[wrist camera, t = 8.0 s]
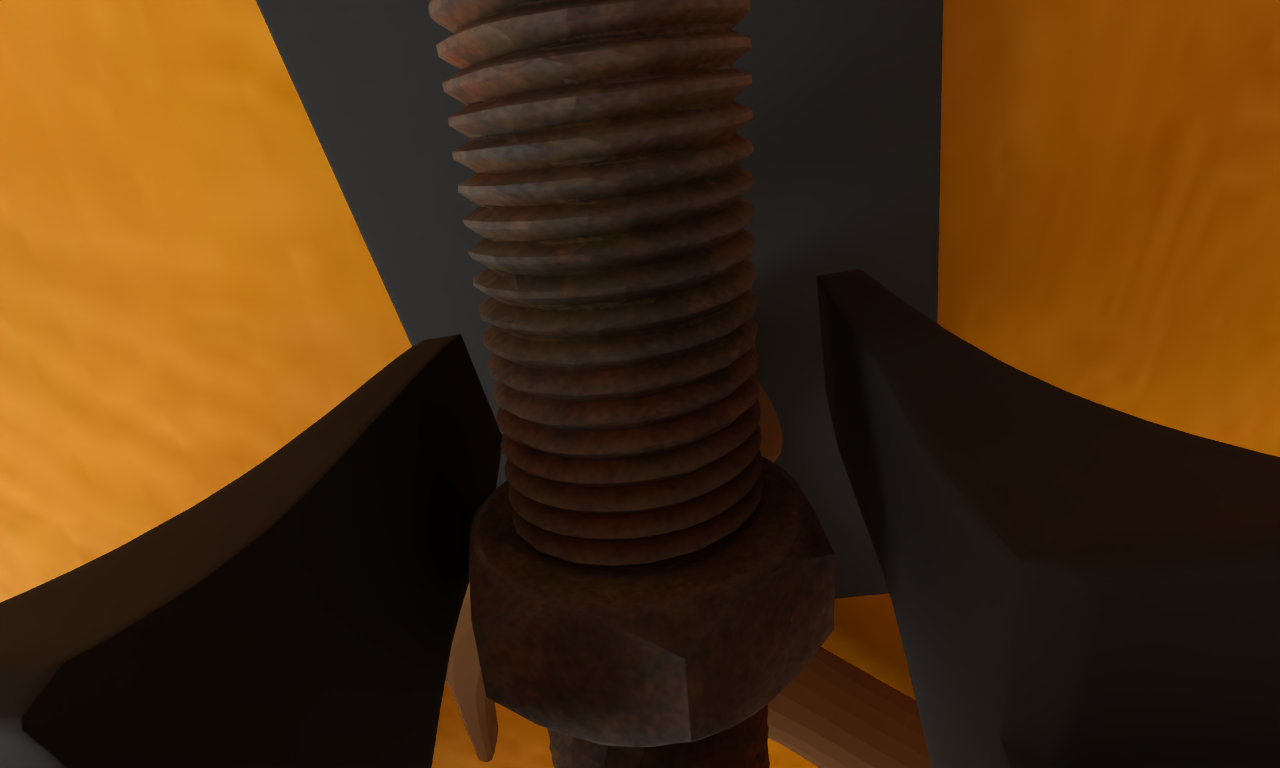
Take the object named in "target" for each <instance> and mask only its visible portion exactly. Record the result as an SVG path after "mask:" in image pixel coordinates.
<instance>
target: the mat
mask: <svg viewBox="0 0 1280 768" xmlns="http://www.w3.org/2000/svg"><path fill="white" fill-rule="evenodd" d="M256 2H257V4H258V6H259V8H260V11H261V13H262V15H263V17H264V19H265V22H266V24H267V26H268V28H269V30H270V33H271V35H272V37H273V39H274V42H275V44H276V46H277V48H278V50H279V53H280V55H281V57H282V59H283V61H284V64H285V66H286V68H287V70H288V73H289V75H290V77H291V79H292V81H293V84H294V86H295V88H296V90H297V92H298V95H299V97H300V99H301V101H302V104H303V106H304V108H305V110H306V112H307V115H308V117H309V119H310V121H311V123H312V126H313V128H314V130H315V132H316V135H317V137H318V139H319V141H320V143H321V146H322V148H323V150H324V152H325V155H326V157H327V159H328V161H329V163H330V166H331V168H332V170H333V172H334V174H335V177H336V179H337V181H338V183H339V186H340V188H341V190H342V192H343V194H344V197H345V199H346V201H347V203H348V205H349V208H350V210H351V212H352V214H353V217H354V219H355V221H356V223H357V225H358V228H359V230H360V232H361V234H362V236H363V239H364V241H365V243H366V245H367V248H368V250H369V252H370V254H371V256H372V259H373V261H374V263H375V265H376V267H377V270H378V272H379V274H380V276H381V279H382V281H383V283H384V285H385V287H386V290H387V292H388V294H389V296H390V298H391V301H392V303H393V305H394V307H395V310H396V312H397V314H398V316H399V318H400V321H401V323H402V325H403V327H404V329H405V332H406V334H407V336H408V338H409V341H410V343H411V345H412V347H413V346H415V345H416V344H418V343H420V342H421V341H423V340H427V339H433V338H439V337H445V336H451V335H457V334H461V335H462V338H463V340H464V343H465V345H466V348H467V350H468V353H469V355H470V358H471V360H472V363H473V365H474V368H475V370H476V372H477V375H478V377H479V380H480V382H481V385H482V387H483V390H484V392H485V395H486V397H487V400H488V402H489V405H490V407H491V410H492V412H493V415H494V417H495V420H496V417H497V413H498V410H499V409H500V408H501V407H500V406H498V405H497V404H496V401H495V399H494V397H493V395H492V393H491V392H492V389H493V385H494V384H495V383H496V382H497V380H496V379H494V378H492V377H491V374H490V371H489V368H488V365H487V363H488V361H489V359H490V356H491V354H493V353H492V352H491V351H490V350H489V349H488V348H487V347H486V346H485V345H484V344H483V333H484V332H485V331H486V330H487V329H488V328H489V327H490V326H491V325H492V324H490V323H488V322H485V321H483V320H482V318H481V316H480V313H479V308H478V305H479V304H481V303H482V302H483V301H484V300H486V299H487V298H488V297H489V296H490V295H488V294H486V293H484V292H483V291H481V290H479V289H478V288H476V287H474V286H473V278H474V277H475V276H476V275H478V274H479V273H481V272H482V271H483V270H485V269H486V268H488V267H486V266H485V265H483V264H482V263H480V262H478V261H476V260H474V259H472V258H471V256H470V255H469V253H468V250H469V249H470V248H472V247H473V246H474V245H476V244H477V243H478V242H479V241H481V240H482V239H483V238H484V237H482V236H481V235H479V234H478V233H476V232H475V231H473V230H471V229H470V228H468V227H467V226H466V225H464V222H463V220H462V219H463V218H464V217H466V216H467V215H468V214H470V213H471V212H472V211H473V210H475V209H476V208H477V207H479V205H477V204H476V203H474V202H472V201H471V200H469V199H468V198H466V197H464V196H463V195H461V194H460V193H458V185H459V184H460V183H462V182H463V181H465V180H466V179H468V178H469V177H471V176H472V175H474V174H475V171H474V170H472V169H471V168H469V167H467V166H465V165H463V164H461V163H459V162H457V161H456V160H454V159H453V155H452V151H454V150H456V149H457V148H459V147H460V146H462V145H464V144H465V143H467V142H469V141H470V137H468V136H466V135H464V134H463V133H461V132H459V131H457V130H456V129H454V128H452V127H450V126H449V122H448V117H450V116H452V115H454V114H455V113H457V112H459V111H460V110H462V109H464V108H466V106H465V104H464V103H462V102H461V101H459V100H457V99H456V98H454V97H452V96H450V95H449V94H447V93H445V92H444V89H443V84H442V83H443V82H444V81H446V80H448V79H449V78H451V77H452V76H454V75H455V74H457V73H459V72H460V69H458V68H456V67H455V66H453V65H451V64H450V63H448V62H446V61H445V60H443V59H441V58H440V57H439V56H438V52H437V48H436V45H437V44H439V43H440V42H442V41H444V40H445V39H447V38H448V37H450V36H452V35H453V34H454V33H452V32H451V31H449V30H447V29H446V28H444V27H443V26H441V25H439V24H438V23H436V22H435V21H434V20H433V19H432V18H431V17H430V14H429V8H428V5H429V3H430V0H256ZM750 9H751V11H750V12H749V13H748V14H747V15H746V16H745V17H744V18H743V19H742V20H741V21H740V22H739V23H738V24H737V25H736V26H735V27H734V28H733V29H732V30H733V31H735V32H737V33H740V34H742V35H745V36H747V37H750V38H751V45H752V47H751V48H750V49H749V50H748V51H747V52H746V53H744V54H743V55H742V56H741V57H740V58H739V59H737V60H736V61H735V62H734V63H733V64H732V67H733V68H735V69H738V70H741V71H743V72H746V73H749V74H752V82H753V83H752V84H750V85H749V86H748V87H747V88H746V89H744V90H743V91H742V92H741V93H740V94H738V95H737V96H736V97H735V98H734V102H737V103H739V104H741V105H744V106H746V107H748V108H750V109H751V110H752V111H753V118H752V119H751V120H749V121H748V122H747V123H746V124H745V125H744V126H743V127H742V128H740V129H739V130H738V131H737V132H736V133H735V134H737V135H739V136H741V137H744V138H746V139H748V140H750V141H751V143H752V144H753V148H754V152H753V153H752V154H750V155H749V156H748V157H747V158H746V159H745V160H744V161H742V162H741V163H740V164H739V165H738V166H737V167H740V168H742V169H744V170H747V171H749V172H751V174H752V176H753V178H754V181H755V183H754V184H753V186H752V187H751V188H750V189H749V190H748V191H747V192H746V193H745V194H744V195H743V196H741V197H740V198H742V199H744V200H746V201H748V202H750V203H752V205H753V208H754V211H755V219H754V220H753V221H752V222H750V223H749V224H748V225H747V226H746V227H744V228H743V229H745V230H747V231H749V232H751V233H753V236H754V239H755V242H756V248H755V250H754V251H753V253H752V254H751V256H750V257H749V258H747V259H748V260H750V261H751V262H753V263H754V266H755V268H756V270H757V276H756V278H755V280H754V283H753V285H752V288H750V290H751V291H752V292H753V293H754V294H755V295H756V296H757V300H758V301H757V305H756V308H755V311H754V314H753V318H752V319H753V320H754V321H755V322H756V323H757V324H758V331H757V335H756V339H755V342H754V344H755V347H756V350H757V353H758V356H759V367H758V368H757V370H756V373H757V378H758V382H759V384H760V385H761V387H762V388H763V390H764V391H765V393H766V394H767V396H768V398H769V399H770V401H771V403H772V405H773V407H774V409H775V411H776V414H777V417H778V419H779V422H780V427H781V431H782V448H781V453H780V455H779V456H778V458H777V459H776V460H775V461H774V462H773V463H775V464H776V465H778V466H780V467H781V468H783V469H784V470H785V471H786V472H787V473H788V474H789V475H790V476H791V477H792V478H793V479H795V480H796V482H797V483H798V485H799V487H800V488H801V490H802V491H803V493H804V495H805V496H806V498H807V500H808V501H809V503H810V504H811V506H812V508H813V509H814V511H815V513H816V515H817V517H818V519H819V521H820V523H821V525H822V527H823V529H824V532H825V534H826V536H827V538H828V540H829V542H830V544H831V547H832V549H833V551H834V553H835V598H845V597H855V596H865V595H876V594H886V593H889V591H888V587H887V584H886V581H885V578H884V574H883V572H882V569H881V566H880V563H879V561H878V558H877V555H876V552H875V550H874V547H873V544H872V541H871V539H870V536H869V533H868V530H867V528H866V525H865V522H864V519H863V517H862V514H861V511H860V508H859V506H858V503H857V500H856V497H855V495H854V492H853V489H852V486H851V483H850V481H849V478H848V475H847V472H846V469H845V467H844V464H843V461H842V458H841V455H840V452H839V450H838V445H837V441H836V437H835V432H834V428H833V423H832V419H831V414H830V409H829V405H828V400H827V395H826V388H825V376H824V364H823V352H822V340H821V328H820V316H819V304H818V292H817V280H816V276H819V275H826V274H832V273H838V272H844V271H850V270H856V269H862V270H863V271H864V272H866V273H867V274H869V275H870V276H871V277H873V278H874V279H875V280H877V281H878V282H879V283H881V284H882V285H883V286H885V287H886V288H887V289H889V290H890V291H891V292H893V293H894V294H895V295H897V296H898V297H899V298H901V299H902V300H903V301H905V302H906V303H907V304H909V305H910V306H912V307H913V308H915V309H916V310H917V311H919V312H920V313H922V314H923V315H925V316H926V317H928V318H929V319H931V320H932V321H934V322H935V323H937V307H938V253H939V198H940V144H941V90H942V35H943V0H750ZM496 422H497V420H496ZM497 424H498V422H497ZM498 427H499V425H498ZM499 429H500V427H499ZM500 432H501V434H502V436H503V435H504V432H503V431H502V430H501V429H500ZM506 461H507V457H506V456H505V455H504V454H503V452H502V449H501V457H500V465H499V472H498V479H497V485H496V489H497V488H498V487H499V486H500V485H501V484H503V483H504V482H505V481H506V480H507V479H506V475H505V470H504V469H505V465H506Z"/></svg>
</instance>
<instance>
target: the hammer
mask: <svg viewBox="0 0 1280 768" xmlns="http://www.w3.org/2000/svg"><path fill="white" fill-rule="evenodd" d="M758 383H759V382H758ZM759 386H760V390H759V393H758V396H757V398H758V400H759V405H760V409H761V416H760V420H759V424H758V425H759V427H760V430H761V436H762V440H761V445H760V449H759V450H760V452H761V456H762V457H765V458H767V459H769V460H770V461H772V462H774V461H775V460H776V459H777V458H778V456H779V455H780V453H781V448H782V431H781V427H780V422H779V419H778V417H777V414H776V411H775V409H774V407H773V405H772V403H771V401H770V399H769V398H768V396H767V394H766V393H765V391H764V390H763V388H762V387H761V385H760V384H759ZM446 679H447V683H448V686H449V688H450V690H451V693H452V695H453V697H454V699H455V702H456V704H457V706H458V709H459V711H460V714H461V717H462V719H463V722H464V725H465V727H466V730H467V732H468V735H469V737H470V740H471V742H472V744H473V747H474V749H475V751H476V754H477V756H478V758H479V760H481V761H484V762H489V761H491V760H492V758H493V756H494V752H495V747H496V742H497V735H498V724H497V716H496V710H495V703H494V701H493V700H491V699H489V698H487V697H486V693H485V688H484V683H483V678H482V673H481V668H480V663H479V657H478V652H477V647H476V642H475V637H474V632H473V627H472V621H471V602H470V581H469V584H468V588H467V591H466V594H465V598H464V601H463V604H462V608H461V611H460V614H459V618H458V622H457V626H456V630H455V634H454V638H453V642H452V647H451V652H450V657H449V663H448V669H447V674H446ZM767 724H768V727H769V731H768V738H770V739H772V740H774V741H776V742H778V743H780V744H782V745H784V746H785V747H787V748H788V749H790V750H792V751H793V752H795V753H797V754H798V755H800V756H802V757H803V758H805V759H807V760H808V761H810V762H811V763H813V764H815V765H816V766H818V767H820V768H932V766H931V762H930V758H929V753H928V749H927V744H926V740H925V736H924V732H923V727H922V723H921V719H920V715H919V710H918V706H917V702H916V700H914V699H912V698H910V697H909V696H907V695H905V694H903V693H901V692H900V691H898V690H896V689H894V688H893V687H891V686H889V685H887V684H885V683H884V682H882V681H880V680H878V679H877V678H875V677H873V676H871V675H869V674H868V673H866V672H864V671H862V670H861V669H859V668H857V667H855V666H854V665H852V664H850V663H848V662H846V661H845V660H843V659H841V658H839V657H838V656H836V655H834V654H832V653H830V652H829V651H827V650H825V649H823V648H822V647H820V648H819V649H818V651H817V652H816V653H815V655H814V656H813V657H812V659H811V660H810V661H809V663H808V664H807V665H806V667H805V668H804V669H803V670H802V671H801V672H800V673H799V674H798V675H797V676H796V677H795V678H794V679H793V680H792V681H791V682H790V683H789V684H788V685H787V686H786V687H785V688H784V689H783V690H782V691H781V692H780V693H779V694H778V695H777V696H776V697H775V698H774V699H773V700H772V701H771V702H770V703H768V718H767Z"/></svg>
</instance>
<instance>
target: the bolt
mask: <svg viewBox="0 0 1280 768" xmlns="http://www.w3.org/2000/svg"><path fill="white" fill-rule="evenodd" d="M428 8H429V14H430V17H431V18H432V19H433V20H434V21H435V22H436V23H438V24H439V25H441V26H443V27H444V28H446V29H447V30H449V31H451V32H452V33H454V34H453V35H452V36H450V37H448V38H447V39H445V40H444V41H442V42H440V43H439V44H437V45H436V48H437V52H438V56H439V57H440V58H441V59H443V60H445V61H446V62H448V63H450V64H451V65H453V66H455V67H456V68H458V69H460V72H459V73H457V74H455V75H454V76H452V77H451V78H449V79H448V80H446V81H444V82H443V83H442V84H443V89H444V92H445V93H447V94H449V95H450V96H452V97H454V98H456V99H457V100H459V101H461V102H462V103H464V104H465V106H466V108H464V109H462V110H460V111H459V112H457V113H455V114H454V115H452V116H450V117H448V122H449V126H450V127H452V128H454V129H456V130H457V131H459V132H461V133H463V134H464V135H466V136H468V137H470V141H469V142H467V143H465V144H464V145H462V146H460V147H459V148H457V149H456V150H454V151H452V155H453V159H454V160H456V161H457V162H459V163H461V164H463V165H465V166H467V167H469V168H471V169H472V170H474V171H475V174H474V175H472V176H471V177H469V178H468V179H466V180H465V181H463V182H462V183H460V184H459V185H458V193H460V194H461V195H463V196H464V197H466V198H468V199H469V200H471V201H472V202H474V203H476V204H477V205H479V207H477V208H476V209H475V210H473V211H472V212H471V213H470V214H468V215H467V216H466V217H464V218H463V219H462V220H463V222H464V225H466V226H467V227H468V228H470V229H471V230H473V231H475V232H476V233H478V234H479V235H481V236H482V237H484V238H483V239H482V240H481V241H479V242H478V243H477V244H476V245H474V246H473V247H472V248H470V249H469V250H468V253H469V255H470V256H471V258H472V259H474V260H476V261H478V262H480V263H482V264H483V265H485V266H486V267H488V268H486V269H485V270H483V271H482V272H481V273H479V274H478V275H476V276H475V277H474V278H473V286H474V287H476V288H478V289H479V290H481V291H483V292H484V293H486V294H488V295H490V296H489V297H488V298H487V299H486V300H484V301H483V302H482V303H481V304H479V305H478V308H479V313H480V316H481V318H482V320H483V321H485V322H488V323H490V324H492V325H491V326H490V327H489V328H488V329H487V330H486V331H485V332H484V333H483V344H484V345H485V346H486V347H487V348H488V349H489V350H490V351H491V352H492V353H493V354H491V356H490V359H489V361H488V363H487V365H488V368H489V371H490V374H491V377H492V378H494V379H496V380H497V382H496V383H495V384H494V385H493V389H492V392H491V393H492V395H493V397H494V399H495V401H496V404H497V405H498V406H500V407H501V408H500V409H499V410H498V413H497V417H496V420H497V422H498V425H499V427H500V429H501V430H502V431H503V432H504V435H503V436H502V440H501V444H500V445H501V449H502V452H503V454H504V455H505V456H506V457H507V461H506V465H505V469H504V470H505V475H506V479H507V480H506V481H505V482H504V483H503V484H501V485H500V486H499V487H498V488H497V489H495V490H494V492H493V493H492V494H491V495H490V496H489V497H488V498H487V499H486V500H485V502H484V503H483V504H482V505H481V506H480V507H479V508H478V509H477V511H476V512H475V514H474V516H473V517H472V522H471V529H470V543H469V580H470V602H471V621H472V627H473V632H474V637H475V642H476V647H477V652H478V657H479V663H480V668H481V673H482V678H483V683H484V688H485V693H486V697H487V698H489V699H491V700H493V701H495V702H497V703H498V704H500V705H502V706H504V707H506V708H508V709H510V710H511V711H513V712H515V713H517V714H519V715H521V716H523V717H524V718H526V719H528V720H530V721H532V722H534V723H535V724H538V725H540V726H543V727H546V728H547V729H548V733H549V736H550V750H551V753H552V761H553V765H554V768H769V765H770V762H769V755H768V745H767V740H768V731H769V727H768V724H767V718H768V703H770V702H771V701H772V700H773V699H774V698H775V697H776V696H777V695H778V694H779V693H780V692H781V691H782V690H783V689H784V688H785V687H786V686H787V685H788V684H789V683H790V682H791V681H792V680H793V679H794V678H795V677H796V676H797V675H798V674H799V673H800V672H801V671H802V670H803V669H804V668H805V667H806V665H807V664H808V663H809V661H810V660H811V659H812V657H813V656H814V655H815V653H816V652H817V651H818V649H819V648H820V647H821V645H822V644H823V643H824V641H825V640H826V639H827V638H828V636H829V635H830V634H831V632H832V631H833V630H834V599H835V553H834V551H833V549H832V547H831V544H830V542H829V540H828V538H827V536H826V534H825V532H824V529H823V527H822V525H821V523H820V521H819V519H818V517H817V515H816V513H815V511H814V509H813V508H812V506H811V504H810V503H809V501H808V500H807V498H806V496H805V495H804V493H803V491H802V490H801V488H800V487H799V485H798V483H797V482H796V480H795V479H793V478H792V477H791V476H790V475H789V474H788V473H787V472H786V471H785V470H784V469H783V468H781V467H780V466H778V465H776V464H775V463H773V462H772V461H770V460H769V459H767V458H765V457H762V456H761V452H760V450H759V449H760V445H761V440H762V436H761V430H760V427H759V425H758V424H759V420H760V416H761V409H760V405H759V400H758V398H757V396H758V393H759V390H760V386H759V383H758V378H757V373H756V370H757V368H758V367H759V356H758V353H757V350H756V347H755V344H754V342H755V339H756V335H757V331H758V324H757V323H756V322H755V321H754V320H753V319H752V318H753V314H754V311H755V308H756V305H757V301H758V300H757V296H756V295H755V294H754V293H753V292H752V291H751V290H750V288H752V285H753V283H754V280H755V278H756V276H757V270H756V268H755V266H754V263H753V262H751V261H750V260H748V259H747V258H749V257H750V256H751V254H752V253H753V251H754V250H755V248H756V242H755V239H754V236H753V233H751V232H749V231H747V230H745V229H743V228H744V227H746V226H747V225H748V224H749V223H750V222H752V221H753V220H754V219H755V211H754V208H753V205H752V203H750V202H748V201H746V200H744V199H742V198H740V197H741V196H743V195H744V194H745V193H746V192H747V191H748V190H749V189H750V188H751V187H752V186H753V184H754V183H755V181H754V178H753V176H752V174H751V172H749V171H747V170H744V169H742V168H740V167H737V166H738V165H739V164H740V163H741V162H742V161H744V160H745V159H746V158H747V157H748V156H749V155H750V154H752V153H753V152H754V148H753V144H752V143H751V141H750V140H748V139H746V138H744V137H741V136H739V135H737V134H735V133H736V132H737V131H738V130H739V129H740V128H742V127H743V126H744V125H745V124H746V123H747V122H748V121H749V120H751V119H752V118H753V111H752V110H751V109H750V108H748V107H746V106H744V105H741V104H739V103H737V102H734V98H735V97H736V96H737V95H738V94H740V93H741V92H742V91H743V90H744V89H746V88H747V87H748V86H749V85H750V84H752V83H753V82H752V74H749V73H746V72H743V71H741V70H738V69H735V68H733V67H732V64H733V63H734V62H735V61H736V60H737V59H739V58H740V57H741V56H742V55H743V54H744V53H746V52H747V51H748V50H749V49H750V48H751V47H752V45H751V38H750V37H747V36H745V35H742V34H740V33H737V32H735V31H733V30H732V29H733V28H734V27H735V26H736V25H737V24H738V23H739V22H740V21H741V20H742V19H743V18H744V17H745V16H746V15H747V14H748V13H749V12H750V11H751V9H750V0H430V3H429V5H428Z"/></svg>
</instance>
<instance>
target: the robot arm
mask: <svg viewBox="0 0 1280 768" xmlns="http://www.w3.org/2000/svg"><path fill="white" fill-rule="evenodd" d="M816 280H817V292H818V304H819V316H820V328H821V340H822V352H823V364H824V376H825V388H826V395H827V400H828V405H829V409H830V414H831V419H832V423H833V428H834V432H835V437H836V441H837V445H838V450H839V452H840V455H841V458H842V461H843V464H844V467H845V469H846V472H847V475H848V478H849V481H850V483H851V486H852V489H853V492H854V495H855V497H856V500H857V503H858V506H859V508H860V511H861V514H862V517H863V519H864V522H865V525H866V528H867V530H868V533H869V536H870V539H871V541H872V544H873V547H874V550H875V552H876V555H877V558H878V561H879V563H880V566H881V569H882V572H883V574H884V578H885V581H886V584H887V587H888V591H889V594H890V597H891V600H892V604H893V607H894V612H895V616H896V620H897V624H898V628H899V632H900V636H901V640H902V644H903V648H904V652H905V656H906V660H907V664H908V668H909V673H910V677H911V681H912V685H913V689H914V694H915V698H916V702H917V706H918V710H919V715H920V719H921V723H922V727H923V732H924V736H925V740H926V744H927V749H928V753H929V758H930V762H931V766H932V768H1280V457H1277V456H1272V455H1268V454H1264V453H1260V452H1256V451H1252V450H1249V449H1245V448H1241V447H1237V446H1233V445H1230V444H1226V443H1222V442H1218V441H1215V440H1211V439H1207V438H1203V437H1199V436H1196V435H1192V434H1189V433H1186V432H1182V431H1179V430H1176V429H1172V428H1169V427H1166V426H1162V425H1159V424H1156V423H1153V422H1149V421H1146V420H1143V419H1141V418H1138V417H1135V416H1132V415H1129V414H1126V413H1124V412H1121V411H1118V410H1115V409H1112V408H1109V407H1106V406H1104V405H1101V404H1098V403H1095V402H1092V401H1090V400H1087V399H1085V398H1082V397H1080V396H1077V395H1074V394H1072V393H1069V392H1067V391H1065V390H1062V389H1060V388H1058V387H1055V386H1053V385H1051V384H1049V383H1047V382H1044V381H1042V380H1040V379H1038V378H1035V377H1033V376H1031V375H1029V374H1027V373H1024V372H1022V371H1020V370H1018V369H1016V368H1014V367H1012V366H1010V365H1008V364H1006V363H1004V362H1002V361H1000V360H998V359H996V358H994V357H992V356H991V355H989V354H987V353H985V352H984V351H982V350H980V349H978V348H977V347H975V346H973V345H971V344H969V343H968V342H966V341H964V340H962V339H961V338H959V337H957V336H956V335H954V334H953V333H951V332H949V331H948V330H946V329H944V328H943V327H941V326H940V325H938V324H937V323H935V322H934V321H932V320H931V319H929V318H928V317H926V316H925V315H923V314H922V313H920V312H919V311H917V310H916V309H915V308H913V307H912V306H910V305H909V304H907V303H906V302H905V301H903V300H902V299H901V298H899V297H898V296H897V295H895V294H894V293H893V292H891V291H890V290H889V289H887V288H886V287H885V286H883V285H882V284H881V283H879V282H878V281H877V280H875V279H874V278H873V277H871V276H870V275H869V274H867V273H866V272H864V271H863V270H862V269H856V270H850V271H844V272H838V273H832V274H826V275H819V276H816ZM501 440H502V434H501V432H500V429H499V427H498V424H497V422H496V420H495V417H494V415H493V412H492V410H491V407H490V405H489V402H488V400H487V397H486V395H485V392H484V390H483V387H482V385H481V382H480V380H479V377H478V375H477V372H476V370H475V368H474V365H473V363H472V360H471V358H470V355H469V353H468V350H467V348H466V345H465V343H464V340H463V338H462V335H461V334H457V335H451V336H445V337H439V338H433V339H427V340H423V341H421V342H420V343H418V344H416V345H415V346H413V347H411V348H410V349H409V350H407V351H406V352H404V353H403V354H402V355H400V356H399V357H398V358H396V359H395V360H394V361H392V362H391V363H390V364H388V365H387V366H386V367H385V368H383V369H382V370H381V371H380V372H378V373H377V374H376V375H375V376H373V377H372V378H371V379H370V380H368V381H367V382H366V383H365V384H364V385H362V386H361V387H360V388H359V389H357V390H356V391H355V392H354V393H352V394H351V395H350V396H349V397H347V398H346V399H345V400H344V401H342V402H341V403H340V404H339V405H337V406H336V407H335V408H334V409H332V410H331V411H330V412H329V413H327V414H326V415H325V416H324V417H322V418H321V419H320V420H318V421H317V422H316V423H314V424H313V425H312V426H310V427H309V428H308V429H306V430H305V431H304V432H302V433H301V434H300V435H298V436H297V437H296V438H294V439H293V440H292V441H290V442H289V443H288V444H286V445H285V446H284V447H282V448H281V449H280V450H278V451H277V452H276V453H274V454H273V455H272V456H270V457H269V458H267V459H266V460H265V461H263V462H262V463H260V464H259V465H257V466H256V467H254V468H253V469H251V470H250V471H248V472H247V473H245V474H244V475H243V476H241V477H240V478H238V479H236V480H235V481H233V482H232V483H230V484H228V485H227V486H225V487H224V488H222V489H221V490H219V491H217V492H216V493H214V494H213V495H211V496H209V497H208V498H206V499H205V500H203V501H201V502H200V503H198V504H196V505H195V506H193V507H191V508H190V509H188V510H186V511H184V512H182V513H181V514H179V515H177V516H175V517H173V518H172V519H170V520H168V521H166V522H164V523H162V524H161V525H159V526H157V527H155V528H153V529H152V530H150V531H148V532H146V533H144V534H142V535H141V536H139V537H137V538H135V539H133V540H132V541H130V542H128V543H126V544H124V545H123V546H121V547H119V548H117V549H115V550H113V551H111V552H109V553H107V554H105V555H103V556H101V557H99V558H97V559H95V560H93V561H91V562H89V563H86V564H84V565H82V566H80V567H78V568H76V569H74V570H72V571H70V572H68V573H66V574H64V575H61V576H59V577H57V578H55V579H53V580H50V581H48V582H46V583H44V584H42V585H40V586H37V587H35V588H33V589H31V590H29V591H27V592H24V593H22V594H20V595H17V596H15V597H13V598H10V599H8V600H6V601H4V602H1V603H0V768H431V767H432V761H433V754H434V747H435V741H436V734H437V727H438V721H439V714H440V707H441V702H442V696H443V691H444V685H445V680H446V674H447V669H448V663H449V657H450V652H451V647H452V642H453V638H454V634H455V630H456V626H457V622H458V618H459V614H460V611H461V608H462V604H463V601H464V598H465V594H466V591H467V588H468V584H469V581H470V580H469V543H470V529H471V522H472V517H473V516H474V514H475V512H476V511H477V509H478V508H479V507H480V506H481V505H482V504H483V503H484V502H485V500H486V499H487V498H488V497H489V496H490V495H491V494H492V493H493V492H494V490H495V489H496V485H497V479H498V472H499V465H500V457H501V445H500V444H501Z"/></svg>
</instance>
